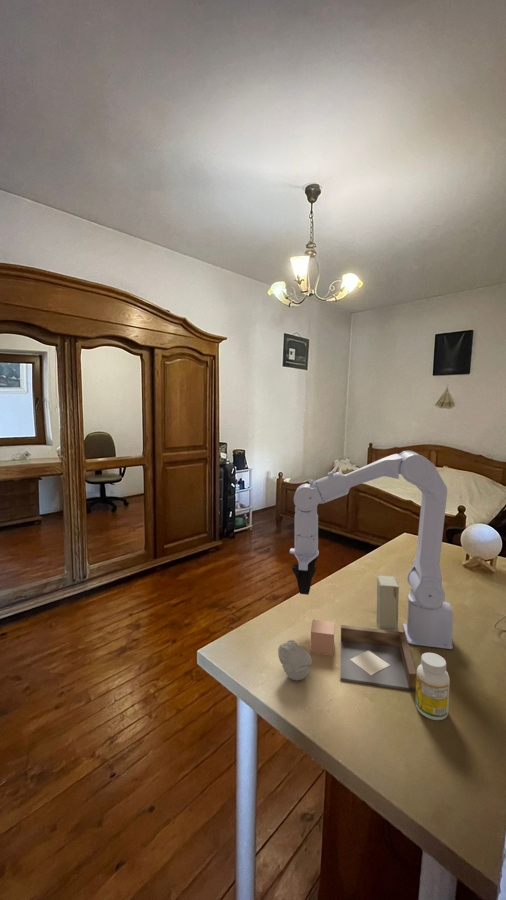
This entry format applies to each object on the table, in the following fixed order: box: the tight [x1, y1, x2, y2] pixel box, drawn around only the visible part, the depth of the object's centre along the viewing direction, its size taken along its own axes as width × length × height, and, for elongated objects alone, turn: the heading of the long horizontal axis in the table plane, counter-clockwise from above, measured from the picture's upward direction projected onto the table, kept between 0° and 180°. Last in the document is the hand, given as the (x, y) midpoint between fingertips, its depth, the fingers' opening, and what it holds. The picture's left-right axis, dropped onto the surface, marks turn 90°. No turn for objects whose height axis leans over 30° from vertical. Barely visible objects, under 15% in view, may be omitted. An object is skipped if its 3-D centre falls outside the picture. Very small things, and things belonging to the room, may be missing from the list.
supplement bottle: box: [415, 652, 451, 721], centre depth 68 cm, size 5×5×10 cm
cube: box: [310, 619, 335, 656], centre depth 86 cm, size 5×5×5 cm
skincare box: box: [376, 575, 400, 632], centre depth 93 cm, size 6×4×12 cm
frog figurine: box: [277, 639, 312, 681], centre depth 77 cm, size 6×7×7 cm
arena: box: [339, 624, 417, 692], centre depth 81 cm, size 14×14×4 cm
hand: (306, 586), depth 95 cm, fingers open, 7 cm apart
